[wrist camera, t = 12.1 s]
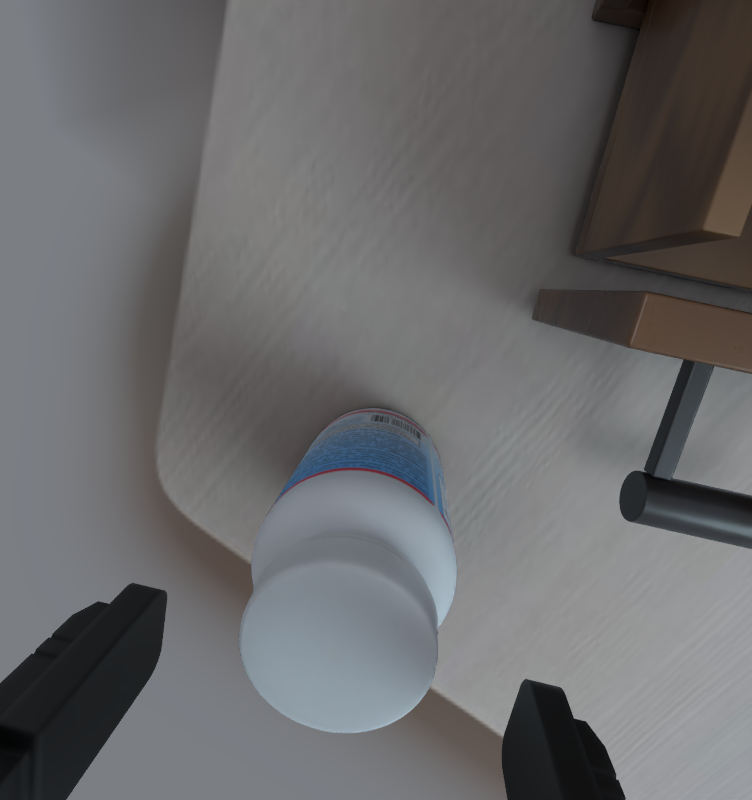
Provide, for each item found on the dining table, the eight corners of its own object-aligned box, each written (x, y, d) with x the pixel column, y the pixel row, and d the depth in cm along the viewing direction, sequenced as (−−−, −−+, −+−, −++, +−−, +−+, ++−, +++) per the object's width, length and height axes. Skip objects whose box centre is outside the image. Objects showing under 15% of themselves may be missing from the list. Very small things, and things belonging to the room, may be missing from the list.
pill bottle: (281, 461, 22) (151, 631, 11) (382, 377, 21) (345, 477, 10) (367, 555, 23) (324, 800, 12) (470, 479, 22) (525, 676, 11)
